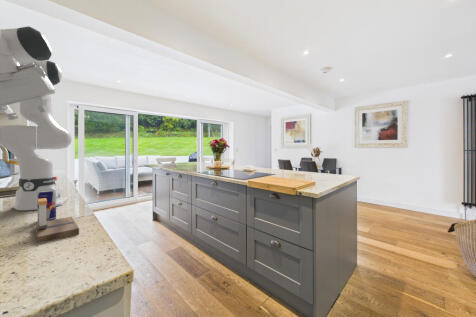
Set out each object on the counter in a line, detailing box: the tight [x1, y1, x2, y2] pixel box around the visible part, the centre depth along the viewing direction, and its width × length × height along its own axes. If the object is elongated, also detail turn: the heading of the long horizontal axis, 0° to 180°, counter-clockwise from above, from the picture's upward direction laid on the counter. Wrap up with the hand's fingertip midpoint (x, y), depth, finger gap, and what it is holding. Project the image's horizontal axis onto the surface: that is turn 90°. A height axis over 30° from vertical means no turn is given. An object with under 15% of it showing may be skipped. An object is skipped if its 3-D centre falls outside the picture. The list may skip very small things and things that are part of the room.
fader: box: [37, 198, 47, 229], centre depth 67 cm, size 2×5×9 cm, turn 47°
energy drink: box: [37, 189, 57, 223], centre depth 79 cm, size 5×5×12 cm
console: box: [35, 216, 80, 244], centre depth 70 cm, size 10×16×2 cm, turn 47°
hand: (29, 115), depth 64 cm, fingers open, 8 cm apart
